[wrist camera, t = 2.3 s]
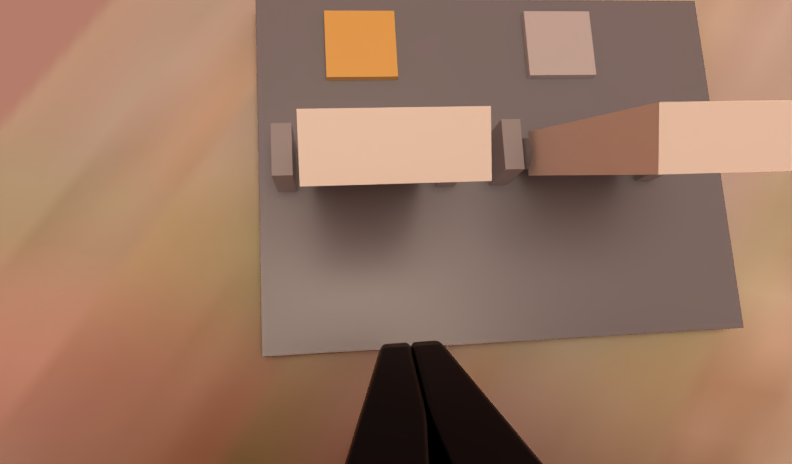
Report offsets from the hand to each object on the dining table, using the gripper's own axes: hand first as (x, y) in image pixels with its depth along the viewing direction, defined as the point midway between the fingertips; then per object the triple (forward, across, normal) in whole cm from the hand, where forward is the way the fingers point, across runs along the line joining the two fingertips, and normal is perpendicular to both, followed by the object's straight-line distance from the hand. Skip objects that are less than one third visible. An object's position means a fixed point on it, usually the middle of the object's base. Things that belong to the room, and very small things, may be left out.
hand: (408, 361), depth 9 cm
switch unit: (+12, -4, +4) cm, 13 cm away
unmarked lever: (+11, -7, +3) cm, 13 cm away
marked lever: (+11, 0, +3) cm, 11 cm away
